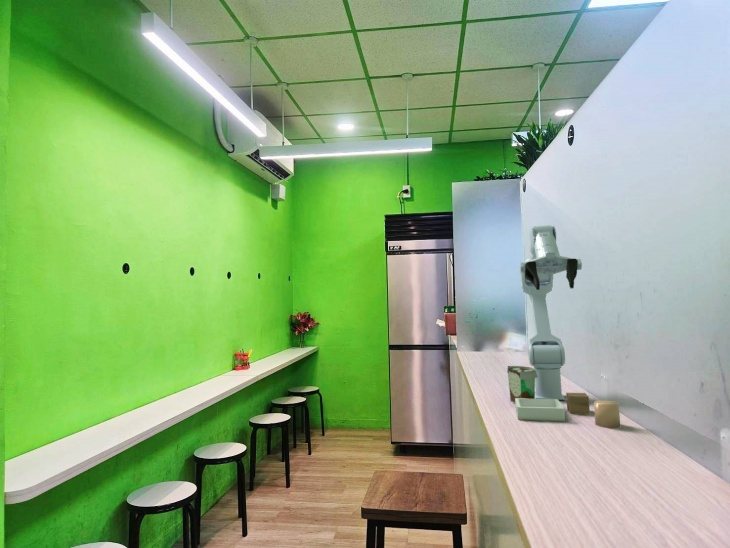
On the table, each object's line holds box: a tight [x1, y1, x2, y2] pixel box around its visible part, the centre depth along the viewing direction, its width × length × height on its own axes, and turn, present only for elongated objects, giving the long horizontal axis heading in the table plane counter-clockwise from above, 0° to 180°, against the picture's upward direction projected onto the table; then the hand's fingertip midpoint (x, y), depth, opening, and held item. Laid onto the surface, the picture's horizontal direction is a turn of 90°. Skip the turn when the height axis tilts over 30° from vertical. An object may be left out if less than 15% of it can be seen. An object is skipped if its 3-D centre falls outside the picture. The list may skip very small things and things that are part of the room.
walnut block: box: [565, 392, 591, 415], centre depth 112 cm, size 4×4×4 cm
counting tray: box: [514, 398, 566, 422], centre depth 110 cm, size 11×11×3 cm
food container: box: [506, 365, 537, 405], centre depth 123 cm, size 12×6×10 cm, turn 179°
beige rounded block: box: [593, 400, 621, 429], centre depth 100 cm, size 5×5×5 cm
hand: (555, 286), depth 106 cm, fingers open, 7 cm apart
